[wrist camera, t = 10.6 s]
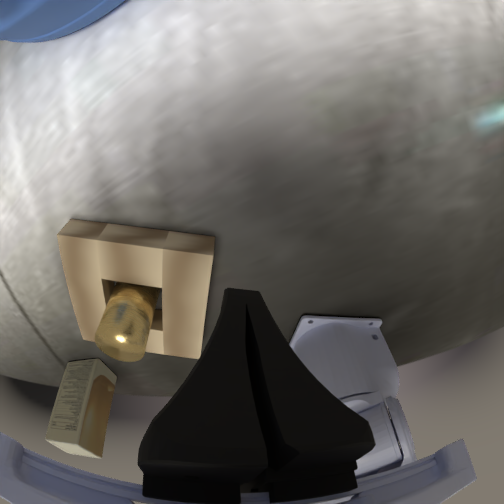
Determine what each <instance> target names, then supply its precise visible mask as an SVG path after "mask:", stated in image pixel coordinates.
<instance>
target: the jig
mask: <svg viewBox="0 0 504 504" xmlns="http://www.w3.org/2000/svg"><path fill="white" fill-rule="evenodd" d="M57 238H58V243H59V249H60V254H61V259H62V264H63V269H64V273H65V277H66V282H67V286H68V290H69V293H70V297H71V301H72V305H73V308H74V312H75V315H76V318H77V321H78V325H79V328H80V331H81V334H82V337H83V339H84V340H89V341H93V342H95V334H96V331H97V328H98V326H99V323H100V321H101V318H102V316H103V313H104V311H105V308H106V306H107V304H108V301H109V299H110V297H111V294H112V292H113V290H114V282H113V281H118V282H125V283H131V284H138V285H144V286H151V287H158V288H162V310H156V309H155V312H154V316H153V320H152V324H151V328H150V332H149V337H148V341H147V345H146V350H145V352H151V353H158V354H165V355H172V356H180V357H188V358H196V359H199V358H200V355H201V347H202V338H203V330H204V322H205V314H206V306H207V298H208V291H209V284H210V276H211V269H212V262H213V256H214V243H215V237H212V236H205V235H197V234H189V233H181V232H174V231H166V230H158V229H150V228H142V227H134V226H126V225H118V224H110V223H101V222H93V221H85V220H76V219H70V221H69V222H68V223H67V224H66V225H65V226H64V227H63V228H62V229H61V231H60V232H59V233H58V234H57Z"/></svg>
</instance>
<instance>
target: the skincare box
mask: <svg viewBox="0 0 504 504" xmlns="http://www.w3.org/2000/svg"><path fill="white" fill-rule="evenodd" d="M116 379H117V376H116V375H115V374H114V373H113V372H112V371H111V370H110V369H109V368H108V367H107V366H106V365H105V364H104V363H103V362H102V361H101V360H100V359H88V360H81V361H74V362H68V364H67V367H66V370H65V372H64V375H63V378H62V381H61V385H60V388H59V391H58V394H57V397H56V401H55V404H54V408H53V411H52V414H51V418H50V422H49V426H48V430H47V434H46V438H45V440H47V441H48V442H50V443H51V444H53V445H55V446H56V447H58V448H60V449H62V450H63V451H65V452H67V453H70V454H75V455H81V456H88V457H95V458H102V453H103V446H104V440H105V434H106V428H107V423H108V418H109V412H110V407H111V402H112V397H113V393H114V388H115V384H116Z"/></svg>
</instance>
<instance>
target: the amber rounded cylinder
mask: <svg viewBox="0 0 504 504" xmlns="http://www.w3.org/2000/svg"><path fill="white" fill-rule="evenodd" d="M160 289H161V288H158V287H151V286H144V285H138V284H131V283H125V282H118V281H117V283H116V285H115V287H114V290H113V292H112V294H111V297H110V299H109V301H108V304H107V306H106V308H105V311H104V313H103V316H102V318H101V321H100V323H99V326H98V328H97V331H96V334H95V342H96V344H97V346H98V347H99V349H100V350H101V351H103V352H104V353H105V354H107V355H108V356H110V357H112V358H114V359H117V360H120V361H125V362H134V361H138V360H140V359H141V358H143V356H144V354H145V350H146V345H147V341H148V337H149V332H150V328H151V324H152V320H153V316H154V312H155V308H156V304H157V300H158V296H159V293H160Z"/></svg>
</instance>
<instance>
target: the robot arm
mask: <svg viewBox="0 0 504 504" xmlns="http://www.w3.org/2000/svg"><path fill="white" fill-rule="evenodd" d="M310 320H311V321H310ZM381 324H382V320H381V319H375V318H346V317H325V316H308V315H306V316H303V317H301V319H300V321H299V323H298V325H297V328H296V330H295V332H294V334H293V337H292V339H291V341H290V343H289V344H288V342H287V341H286V339H285V337H284V336H283V334H282V333H281V331H280V329H279V328H278V326H277V324H276V323H275V321H274V319H273V317H272V316H271V314H270V312H269V310H268V308H267V306H266V304H265V302H264V300H263V298H262V296H261V294H260V292H259V291H252V290H243V289H234V288H227V289H225V290H224V296H223V302H222V307H221V313H220V315H219V318H218V321H217V324H216V326H215V328H214V331H213V333H212V335H211V337H210V339H209V341H208V343H207V345H206V347H205V349H204V351H203V353H202V355H201V356H200V358H199V360H198V361H197V363H196V365H195V366H194V368H193V369H192V371H191V372H190V374H189V375H188V377H187V378H186V380H185V381H184V383H183V384H182V385H181V387H180V388H179V389H178V390H177V392H176V393H175V394H174V396H173V397H172V398H171V399H170V401H169V402H168V403H167V404H166V405H165V406H164V408H163V409H162V410H161V411H160V412H159V413H158V414H157V415H156V416H155V417H154V419H153V420H152V422H151V424H150V426H149V427H148V429H147V431H146V433H145V435H144V437H143V439H142V441H141V444H140V448H139V453H138V466H139V467H140V469H141V470H142V471H143V473H144V475H143V485H140V484H135V483H130V482H125V481H120V480H116V479H112V478H108V477H105V476H101V475H97V474H94V473H90V472H87V471H84V470H80V469H77V468H74V467H71V466H68V465H66V464H63V463H60V462H57V461H55V460H52V459H50V458H47V457H45V456H42V455H40V454H38V453H35V452H33V451H30V450H28V449H26V448H24V447H23V446H22V445H21V444H20V443H19V442H17V441H16V440H14V439H12V438H11V437H9V436H7V435H5V434H3V433H1V432H0V497H1V498H3V499H5V500H6V501H8V502H10V503H11V504H135V503H133V502H132V501H136V502H141V503H147V504H441V503H442V502H444V501H445V500H446V499H448V498H450V497H451V496H453V495H454V494H456V493H457V492H459V491H460V490H462V489H463V488H465V487H466V486H468V485H469V484H471V483H472V482H474V481H475V480H476V479H477V477H476V474H475V471H474V468H473V465H472V462H471V459H470V456H469V454H468V451H467V448H466V445H465V443H464V440H463V439H460V440H458V441H455V442H453V443H451V444H449V445H447V446H445V447H443V448H442V449H440V450H438V451H437V452H435V454H433V455H430V456H428V457H425V458H422V459H420V460H417V458H416V455H415V452H414V450H415V447H414V442H413V439H412V436H411V433H410V430H409V426H408V424H407V421H406V418H405V415H404V412H403V410H402V407H401V405H400V403H399V400H398V399H396V398H395V397H396V395H397V393H398V389H399V372H398V368H397V366H396V363H395V361H394V359H393V356H392V354H391V352H390V350H389V348H388V345H387V343H386V341H385V339H384V337H383V335H382V333H381V331H380V328H379V327H380V326H381ZM387 406H388V410H389V413H388V410H387ZM389 414H390V416H389ZM390 417H391V419H390ZM398 441H399V443H398ZM399 444H400V446H399ZM400 447H401V449H400Z"/></svg>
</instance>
